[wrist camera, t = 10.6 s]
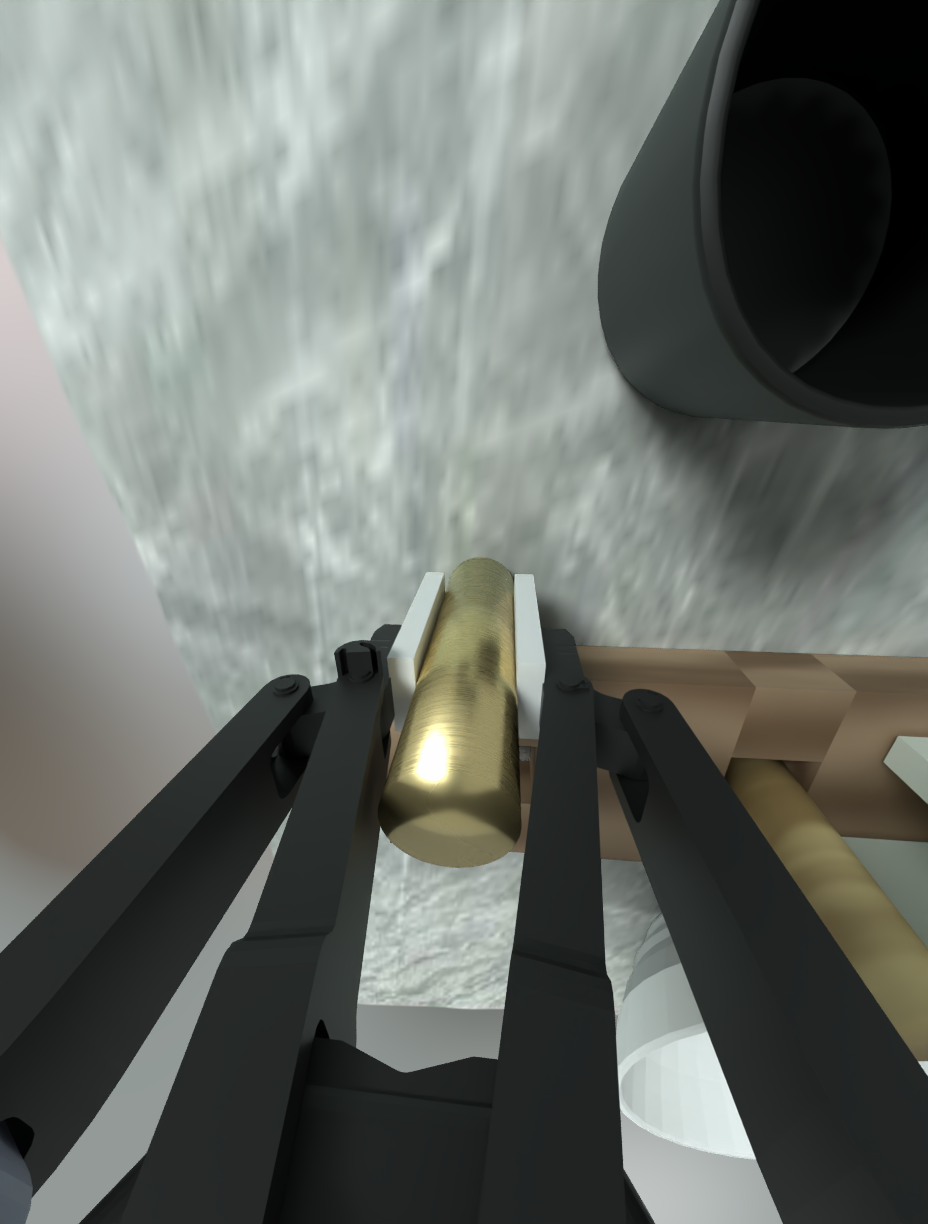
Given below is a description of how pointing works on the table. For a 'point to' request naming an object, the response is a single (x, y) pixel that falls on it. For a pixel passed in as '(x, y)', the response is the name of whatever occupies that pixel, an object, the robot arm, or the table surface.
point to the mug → (781, 222)
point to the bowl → (673, 1057)
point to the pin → (461, 731)
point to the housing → (902, 843)
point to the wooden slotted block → (796, 783)
